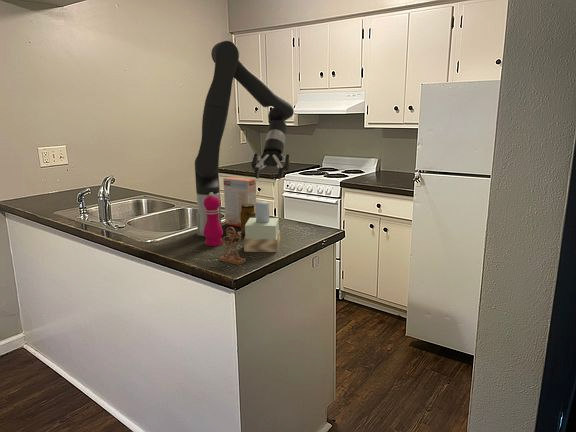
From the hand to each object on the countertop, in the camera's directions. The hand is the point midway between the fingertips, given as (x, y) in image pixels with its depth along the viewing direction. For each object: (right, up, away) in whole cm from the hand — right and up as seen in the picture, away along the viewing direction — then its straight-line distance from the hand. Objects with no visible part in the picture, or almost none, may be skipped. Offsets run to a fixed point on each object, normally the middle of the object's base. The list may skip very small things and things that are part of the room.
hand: (267, 177), depth 162 cm
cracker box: (-13, -18, +30) cm, 37 cm away
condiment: (-9, -22, +17) cm, 29 cm away
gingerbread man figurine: (-11, -30, -14) cm, 35 cm away
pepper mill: (-21, -25, +5) cm, 33 cm away
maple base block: (-2, -26, +1) cm, 26 cm away
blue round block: (-2, -16, -1) cm, 16 cm away
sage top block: (-2, -21, 0) cm, 21 cm away
